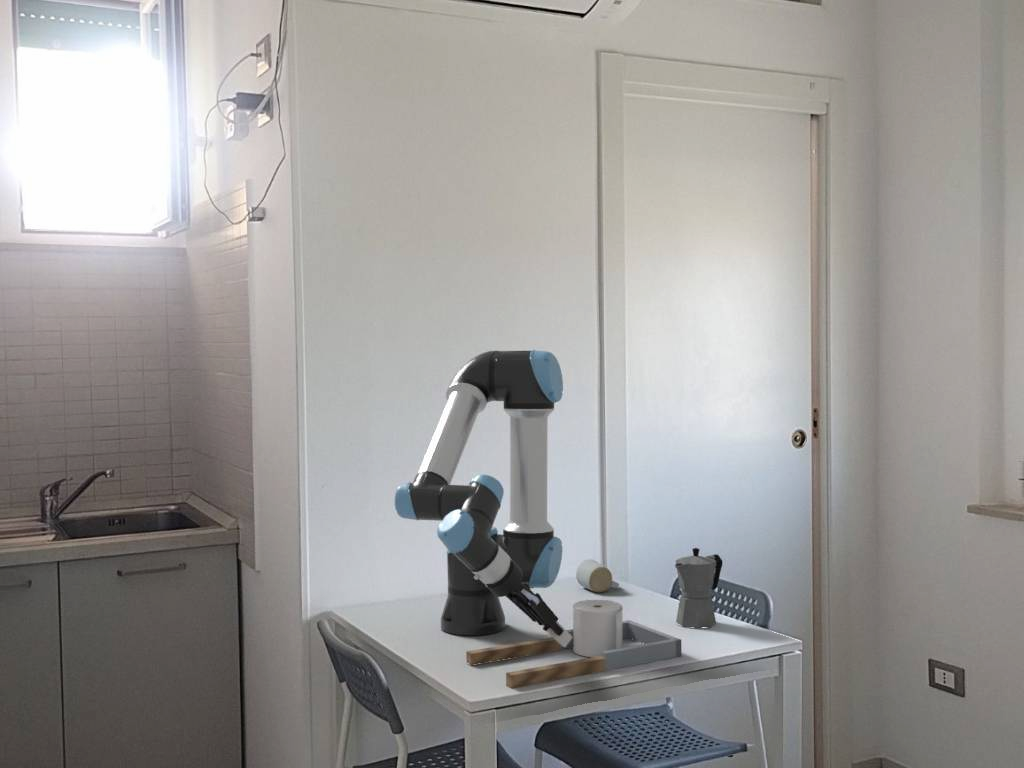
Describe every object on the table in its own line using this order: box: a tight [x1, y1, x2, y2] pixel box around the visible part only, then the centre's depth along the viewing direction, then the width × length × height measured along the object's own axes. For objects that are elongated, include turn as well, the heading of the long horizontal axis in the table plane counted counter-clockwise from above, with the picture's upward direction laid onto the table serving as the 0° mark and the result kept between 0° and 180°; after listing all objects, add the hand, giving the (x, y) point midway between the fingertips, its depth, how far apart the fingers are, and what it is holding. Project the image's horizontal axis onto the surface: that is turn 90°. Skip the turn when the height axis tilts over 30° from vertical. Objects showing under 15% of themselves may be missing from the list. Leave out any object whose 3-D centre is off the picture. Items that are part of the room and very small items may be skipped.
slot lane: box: [465, 636, 606, 689], centre depth 228 cm, size 22×19×2 cm
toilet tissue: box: [572, 599, 624, 658], centre depth 239 cm, size 11×12×10 cm
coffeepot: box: [674, 547, 723, 628], centre depth 261 cm, size 15×9×18 cm, turn 127°
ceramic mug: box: [575, 558, 620, 593], centre depth 297 cm, size 11×8×8 cm
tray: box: [561, 619, 682, 671], centre depth 238 cm, size 20×19×4 cm
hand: (566, 641), depth 232 cm, fingers closed
